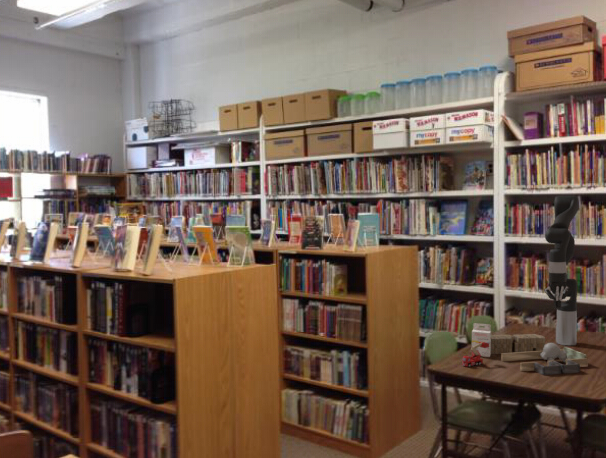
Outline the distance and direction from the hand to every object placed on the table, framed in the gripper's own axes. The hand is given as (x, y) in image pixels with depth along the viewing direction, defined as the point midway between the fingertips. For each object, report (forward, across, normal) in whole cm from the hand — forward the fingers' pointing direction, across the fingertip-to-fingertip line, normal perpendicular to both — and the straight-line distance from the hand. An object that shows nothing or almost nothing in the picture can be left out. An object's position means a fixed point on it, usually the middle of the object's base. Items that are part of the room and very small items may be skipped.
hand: (557, 308), depth 274 cm
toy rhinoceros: (+23, +5, +7) cm, 25 cm away
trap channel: (+23, +12, +12) cm, 28 cm away
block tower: (+24, +14, -15) cm, 31 cm away
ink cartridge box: (+23, +32, -12) cm, 41 cm away
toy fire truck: (+23, +42, +2) cm, 48 cm away
